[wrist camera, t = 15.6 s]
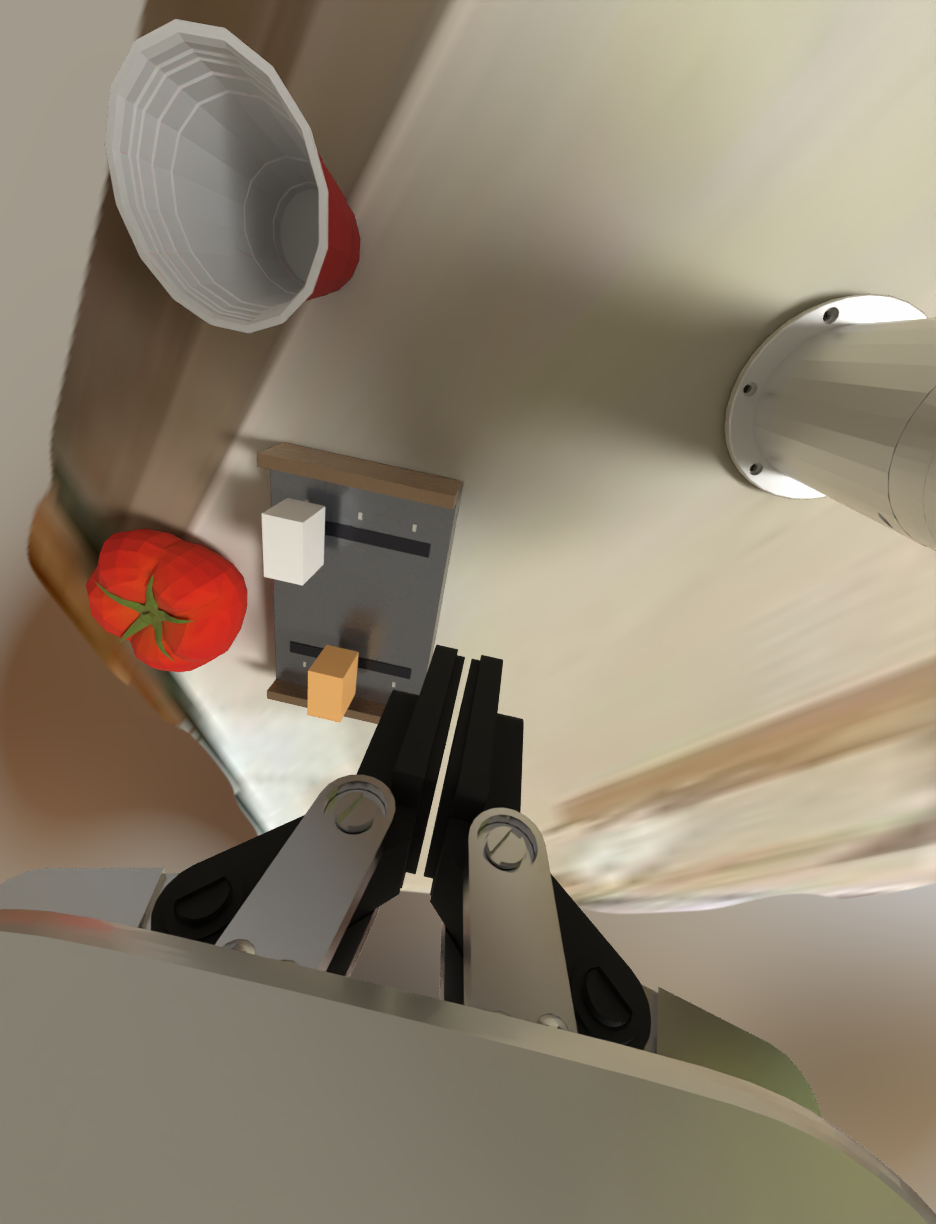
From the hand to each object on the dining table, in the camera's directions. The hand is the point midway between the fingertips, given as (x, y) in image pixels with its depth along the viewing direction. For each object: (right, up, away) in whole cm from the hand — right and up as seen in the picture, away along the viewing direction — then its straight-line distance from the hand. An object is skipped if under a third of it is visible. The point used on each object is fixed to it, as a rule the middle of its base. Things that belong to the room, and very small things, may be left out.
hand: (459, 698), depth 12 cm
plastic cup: (-10, +27, +20) cm, 35 cm away
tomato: (-25, +5, +35) cm, 43 cm away
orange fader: (-11, -3, +33) cm, 35 cm away
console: (-10, +4, +33) cm, 34 cm away
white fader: (-13, +9, +27) cm, 31 cm away
